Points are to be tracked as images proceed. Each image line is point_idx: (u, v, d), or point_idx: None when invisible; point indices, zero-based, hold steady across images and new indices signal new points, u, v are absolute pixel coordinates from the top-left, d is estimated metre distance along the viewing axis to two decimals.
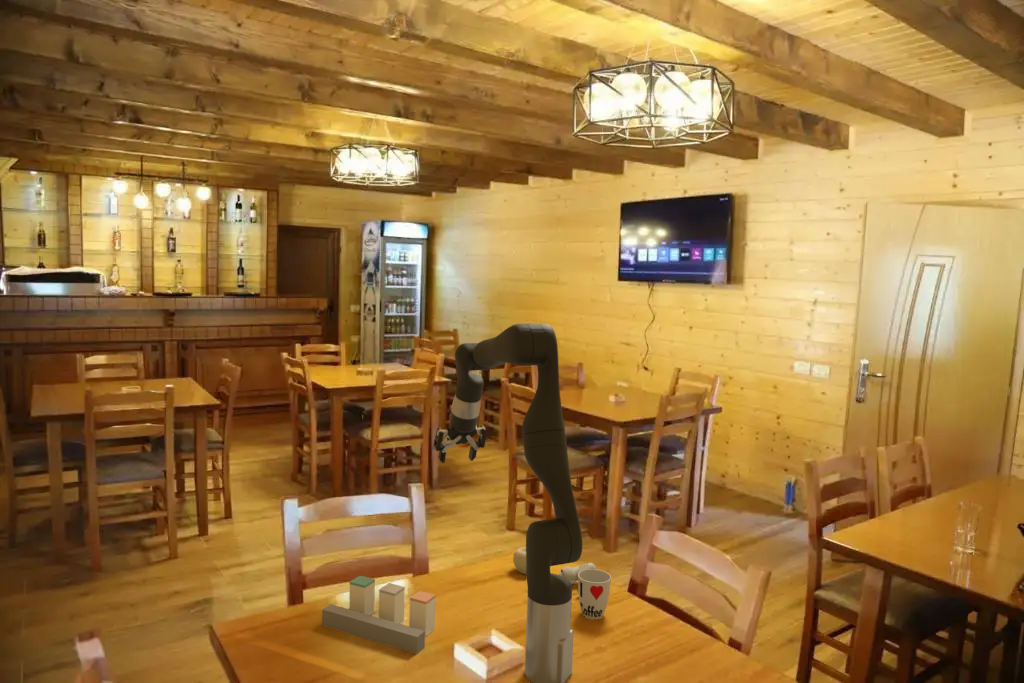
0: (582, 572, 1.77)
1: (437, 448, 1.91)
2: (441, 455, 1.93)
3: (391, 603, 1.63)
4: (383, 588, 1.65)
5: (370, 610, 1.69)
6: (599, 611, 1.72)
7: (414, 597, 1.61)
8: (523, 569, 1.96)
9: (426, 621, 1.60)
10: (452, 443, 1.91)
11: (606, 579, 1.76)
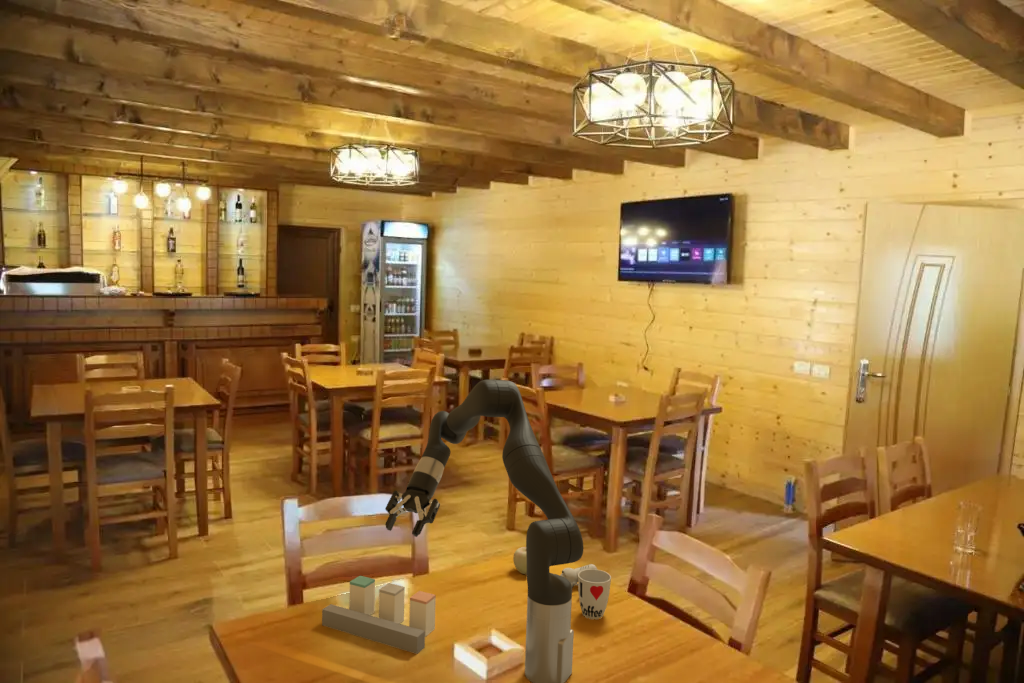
0: (582, 572, 1.77)
1: (387, 507, 1.88)
2: (388, 518, 1.86)
3: (391, 603, 1.63)
4: (383, 588, 1.65)
5: (370, 610, 1.69)
6: (599, 611, 1.72)
7: (414, 597, 1.61)
8: (523, 569, 1.96)
9: (426, 621, 1.60)
10: (401, 503, 1.87)
11: (606, 579, 1.76)
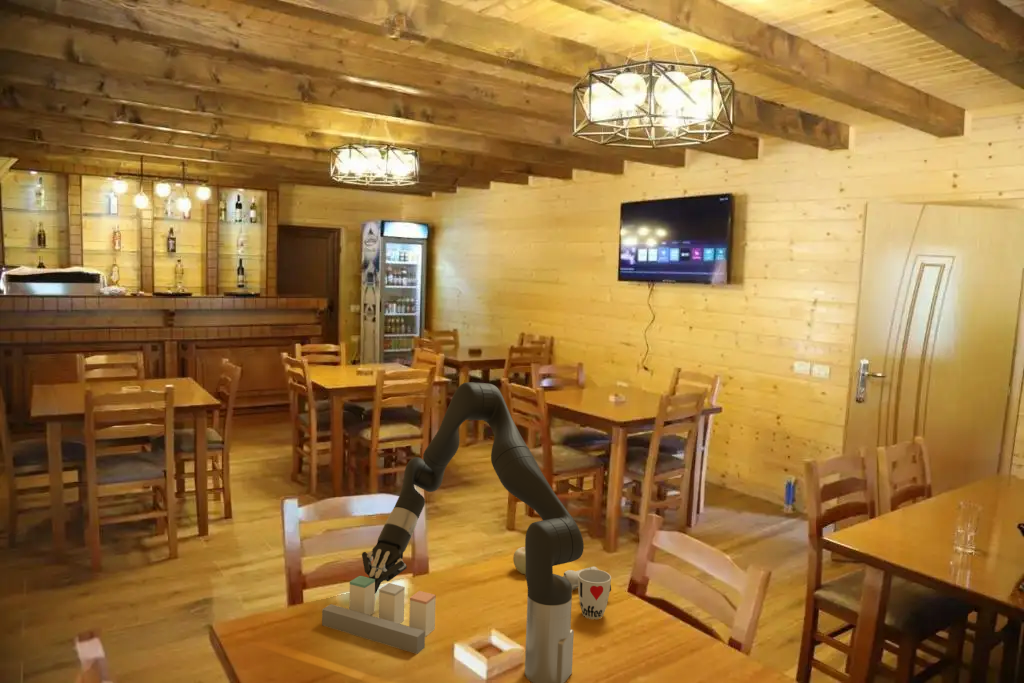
0: (582, 572, 1.77)
1: (365, 569, 1.75)
2: None
3: (391, 603, 1.63)
4: (383, 588, 1.65)
5: (370, 610, 1.69)
6: (599, 611, 1.72)
7: (414, 597, 1.61)
8: (523, 569, 1.96)
9: (426, 621, 1.60)
10: (375, 561, 1.75)
11: (606, 579, 1.76)
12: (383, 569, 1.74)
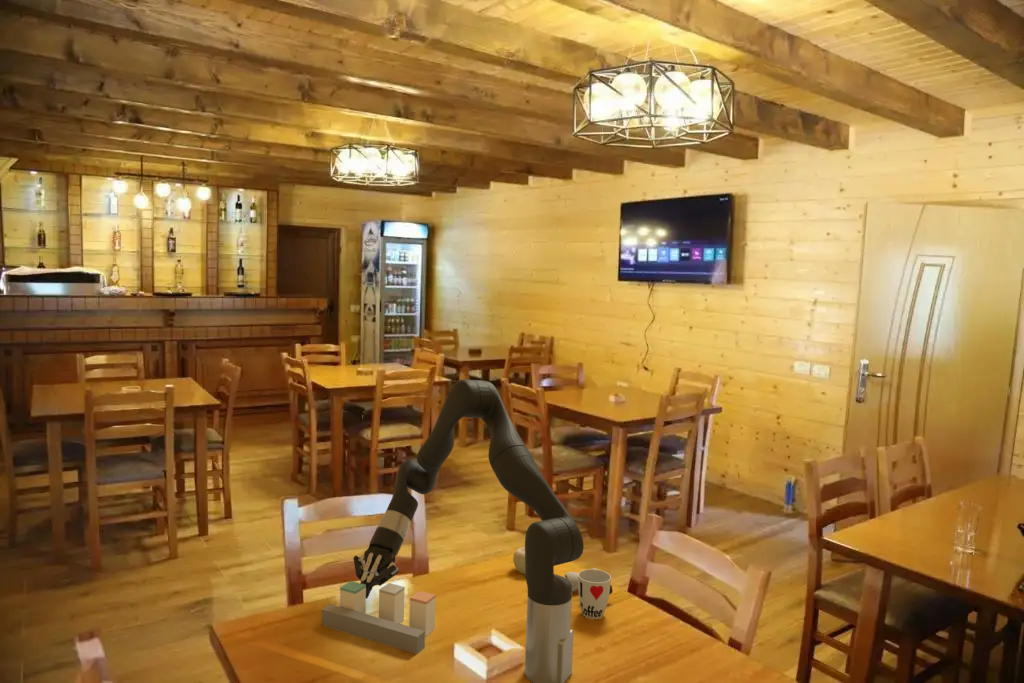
0: (582, 572, 1.77)
1: (357, 573, 1.72)
2: None
3: (391, 603, 1.63)
4: (383, 588, 1.65)
5: None
6: (599, 611, 1.72)
7: (414, 597, 1.61)
8: (523, 569, 1.96)
9: (426, 621, 1.60)
10: (367, 565, 1.72)
11: (606, 579, 1.76)
12: (375, 573, 1.71)
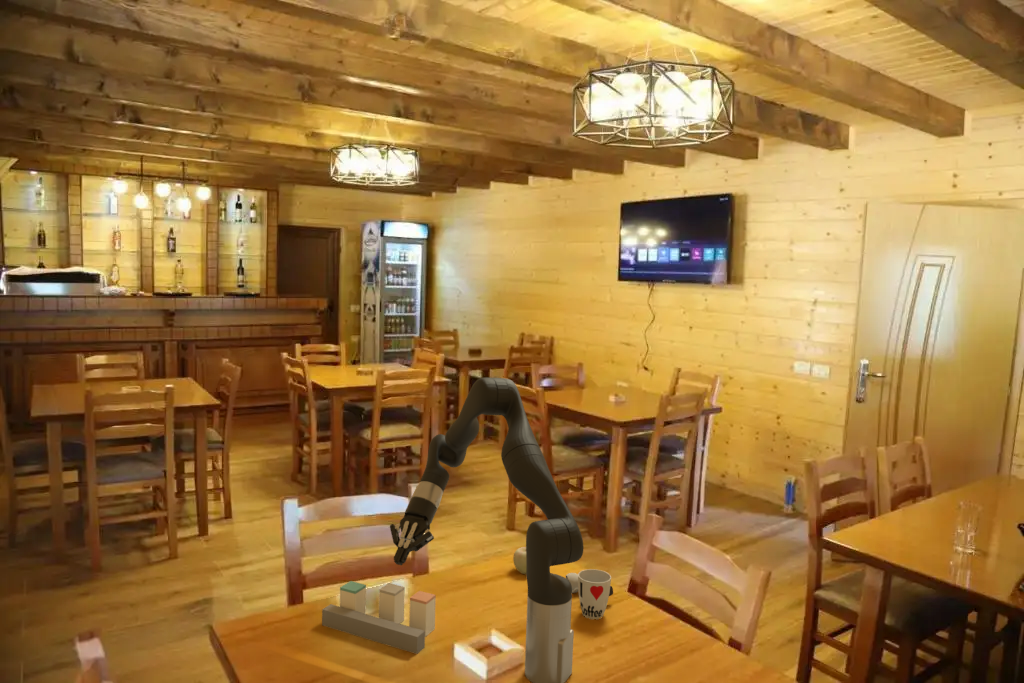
0: (582, 572, 1.77)
1: (394, 540, 1.81)
2: (397, 552, 1.79)
3: (391, 603, 1.63)
4: (383, 588, 1.65)
5: None
6: (600, 611, 1.72)
7: (414, 597, 1.61)
8: (523, 569, 1.96)
9: (426, 621, 1.60)
10: (403, 532, 1.81)
11: (606, 579, 1.76)
12: (411, 539, 1.80)
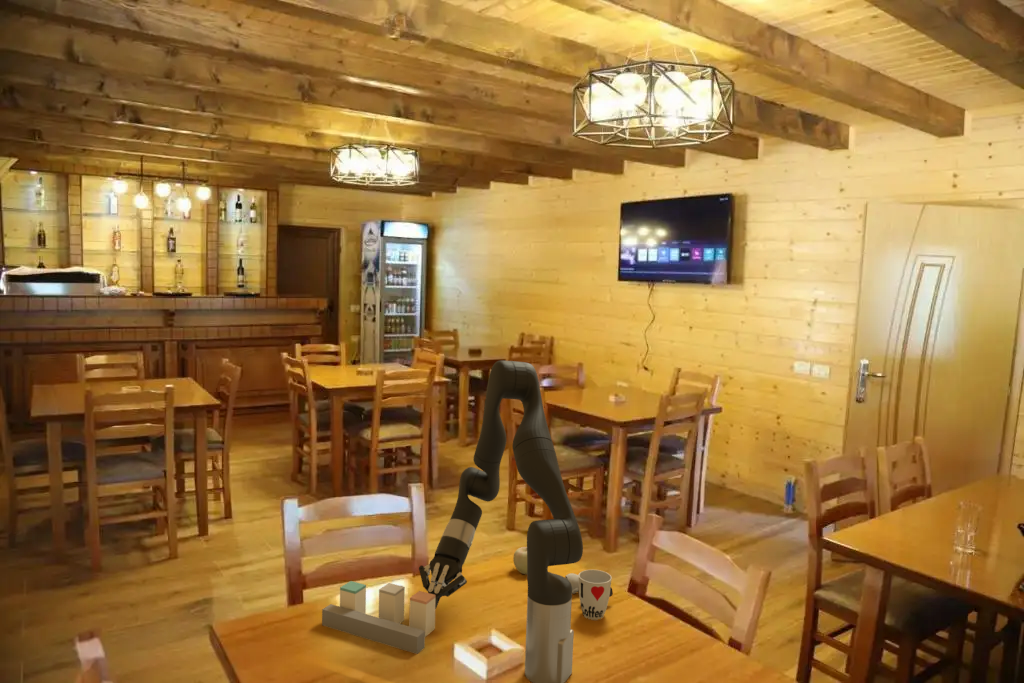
0: (582, 573, 1.77)
1: (424, 584, 1.68)
2: None
3: (391, 603, 1.63)
4: (383, 588, 1.65)
5: None
6: (600, 611, 1.72)
7: (414, 597, 1.61)
8: (523, 569, 1.96)
9: (426, 621, 1.60)
10: (434, 575, 1.68)
11: (606, 579, 1.76)
12: (442, 584, 1.67)
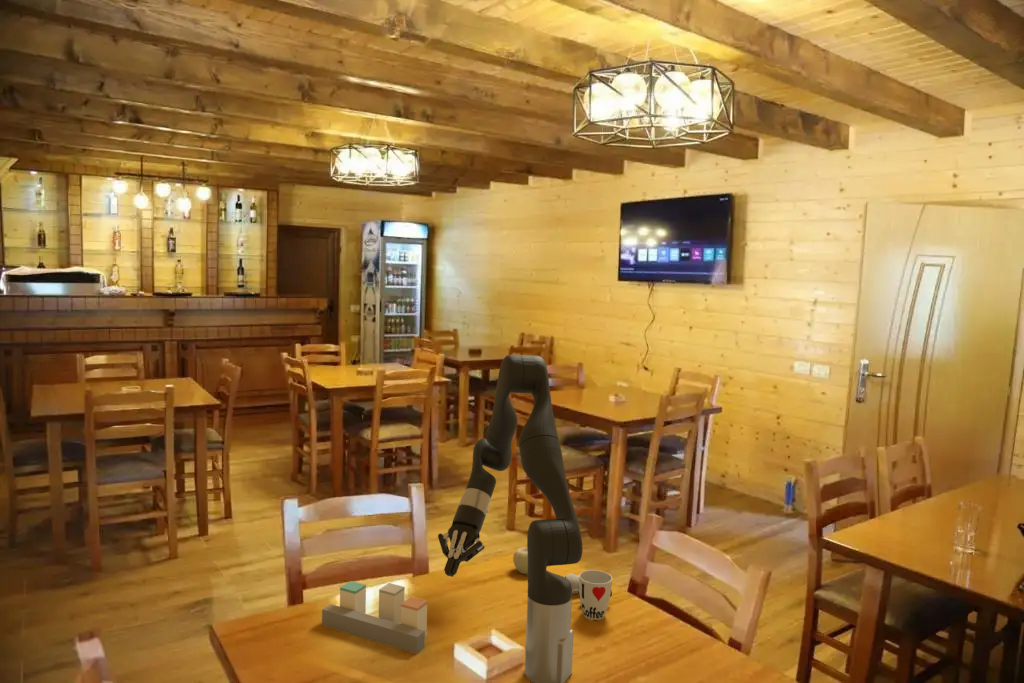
0: (583, 573, 1.76)
1: (443, 551, 1.75)
2: (447, 563, 1.73)
3: (391, 603, 1.63)
4: (383, 588, 1.65)
5: None
6: (601, 612, 1.72)
7: (405, 603, 1.58)
8: (523, 569, 1.96)
9: (417, 628, 1.57)
10: (452, 542, 1.75)
11: (607, 580, 1.76)
12: (461, 550, 1.74)
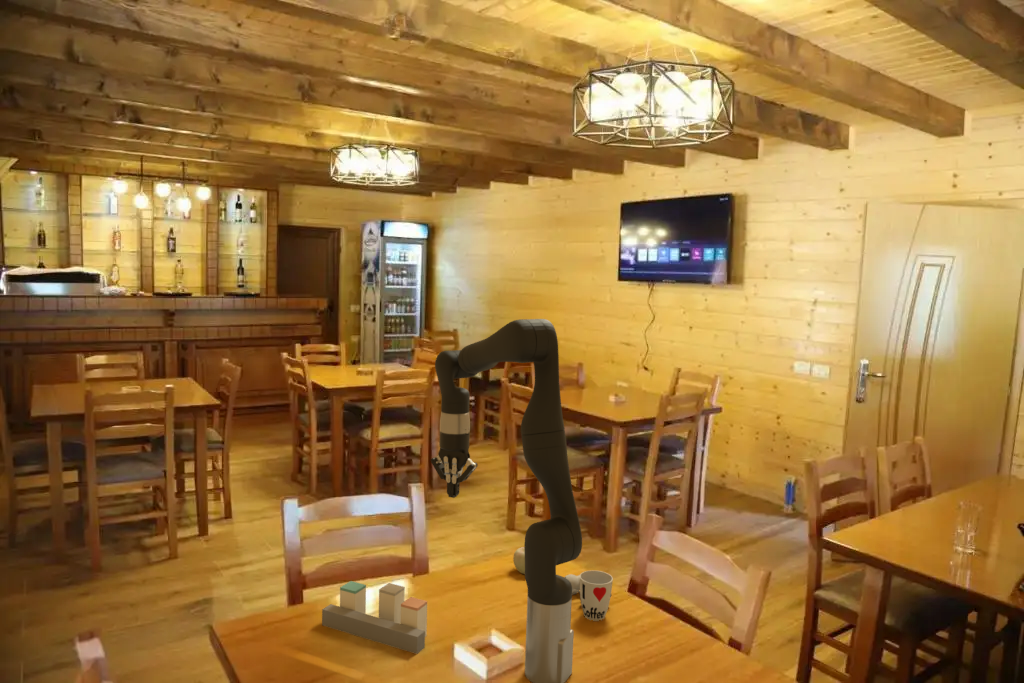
0: (583, 574, 1.76)
1: (440, 476, 1.78)
2: (448, 487, 1.78)
3: (391, 603, 1.63)
4: (383, 588, 1.65)
5: None
6: (602, 612, 1.72)
7: (405, 603, 1.58)
8: (523, 569, 1.96)
9: (417, 628, 1.57)
10: (446, 468, 1.77)
11: (607, 580, 1.76)
12: (457, 474, 1.77)
